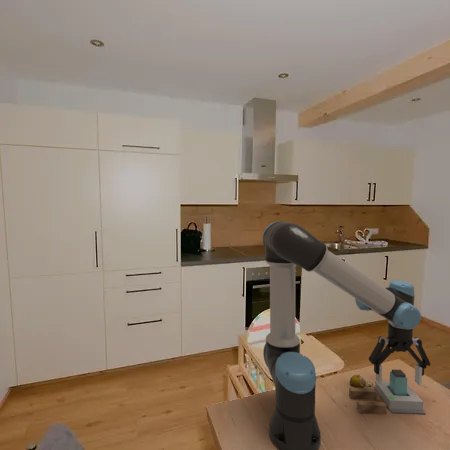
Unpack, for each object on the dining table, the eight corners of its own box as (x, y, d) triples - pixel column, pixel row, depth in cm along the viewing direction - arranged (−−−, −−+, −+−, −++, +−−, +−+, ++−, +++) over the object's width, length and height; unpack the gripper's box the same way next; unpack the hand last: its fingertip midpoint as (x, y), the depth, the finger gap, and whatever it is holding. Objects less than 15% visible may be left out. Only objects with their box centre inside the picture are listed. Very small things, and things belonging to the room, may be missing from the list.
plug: (394, 402, 103) (395, 375, 102) (389, 395, 107) (390, 368, 106) (406, 402, 103) (407, 375, 102) (400, 395, 107) (401, 369, 106)
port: (391, 413, 98) (392, 402, 98) (373, 387, 112) (373, 377, 112) (425, 414, 97) (426, 403, 97) (402, 388, 111) (403, 378, 111)
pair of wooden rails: (359, 413, 98) (359, 404, 98) (349, 395, 107) (349, 387, 107) (386, 414, 98) (386, 405, 97) (374, 396, 107) (374, 388, 107)
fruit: (373, 395, 108) (373, 386, 108) (349, 389, 111) (349, 380, 111) (373, 383, 115) (373, 374, 115) (350, 378, 119) (350, 369, 119)
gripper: (368, 328, 100) (366, 387, 101) (444, 330, 98) (441, 390, 100) (360, 320, 108) (358, 375, 109) (430, 321, 106) (427, 377, 107)
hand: (398, 382), depth 104 cm, fingers open, 13 cm apart
